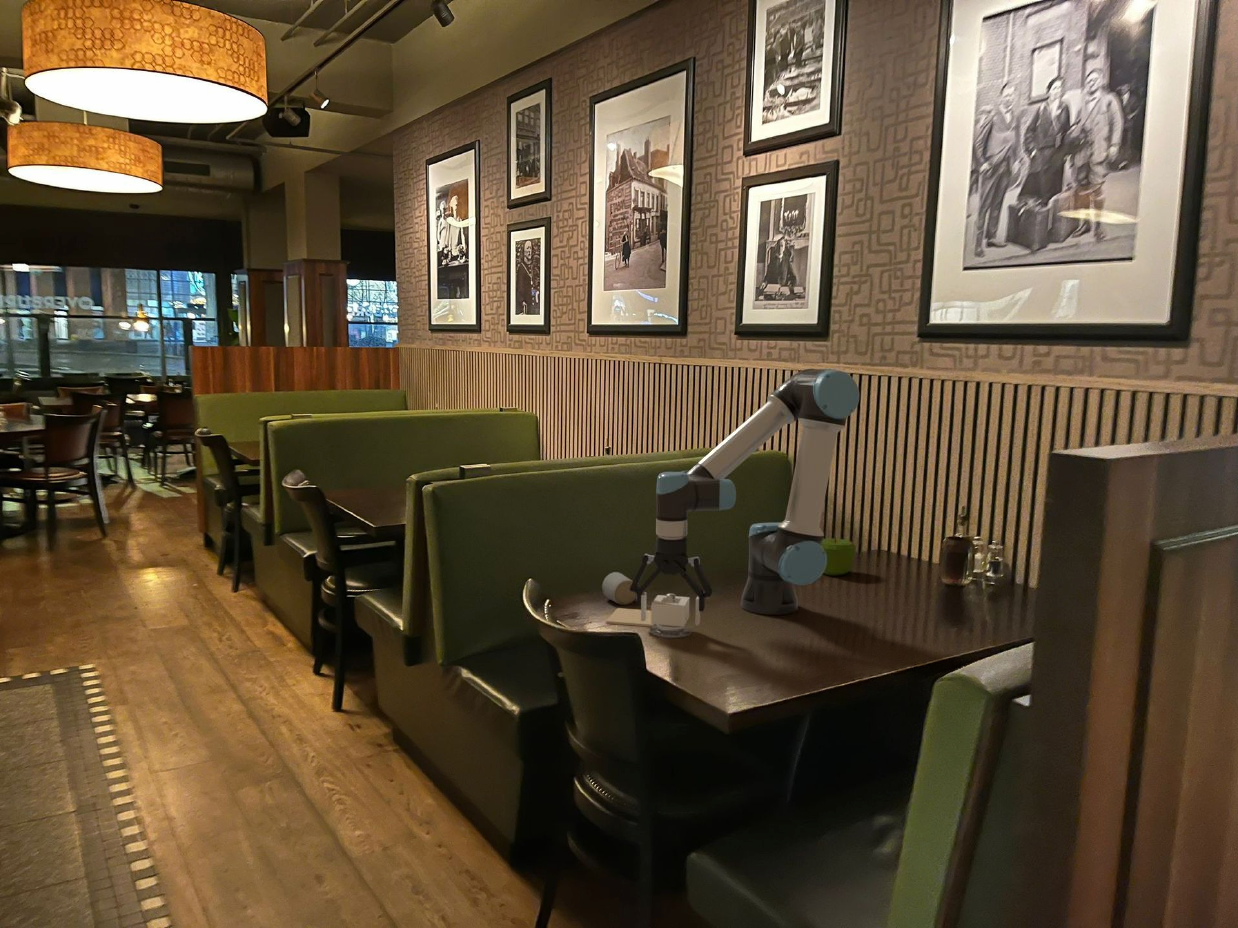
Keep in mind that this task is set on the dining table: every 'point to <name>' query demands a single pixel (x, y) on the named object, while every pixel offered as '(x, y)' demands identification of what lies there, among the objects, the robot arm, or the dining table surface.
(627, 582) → the ceramic mug
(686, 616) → the white hollow square block
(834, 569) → the apple
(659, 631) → the stand
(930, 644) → the dining table surface
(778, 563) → the robot arm
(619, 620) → the mat
